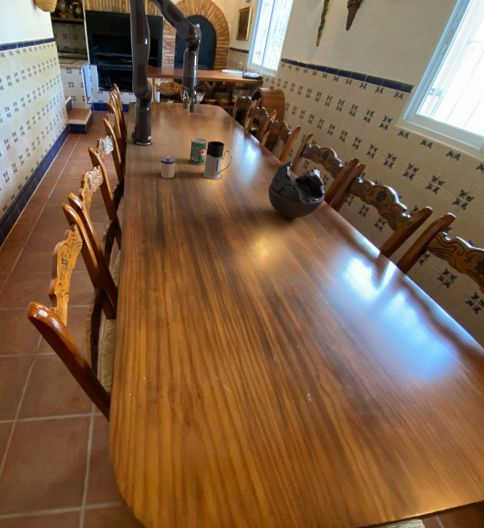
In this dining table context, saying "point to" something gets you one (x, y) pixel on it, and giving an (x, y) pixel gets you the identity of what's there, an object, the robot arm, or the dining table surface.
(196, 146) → the canned tomato
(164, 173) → the salt pot
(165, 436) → the dining table surface
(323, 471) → the dining table surface
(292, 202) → the broken dark shell
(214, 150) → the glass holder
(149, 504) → the dining table surface
